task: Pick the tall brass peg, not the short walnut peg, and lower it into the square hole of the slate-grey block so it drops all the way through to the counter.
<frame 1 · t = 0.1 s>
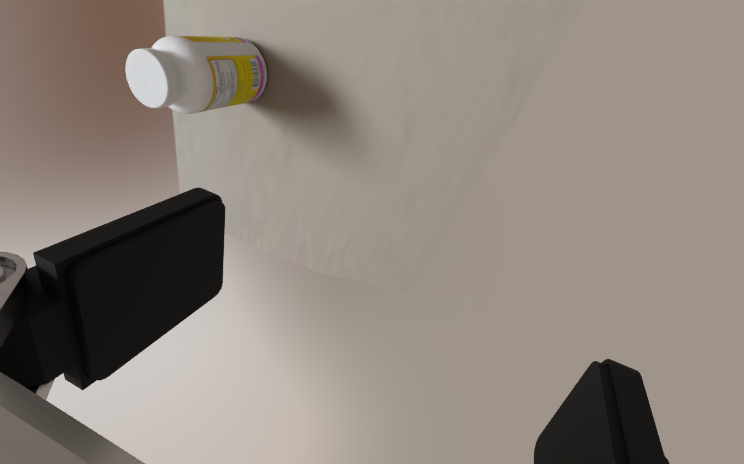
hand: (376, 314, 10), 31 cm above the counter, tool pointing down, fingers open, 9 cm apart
supplement bottle: (245, 70, 44), on the counter
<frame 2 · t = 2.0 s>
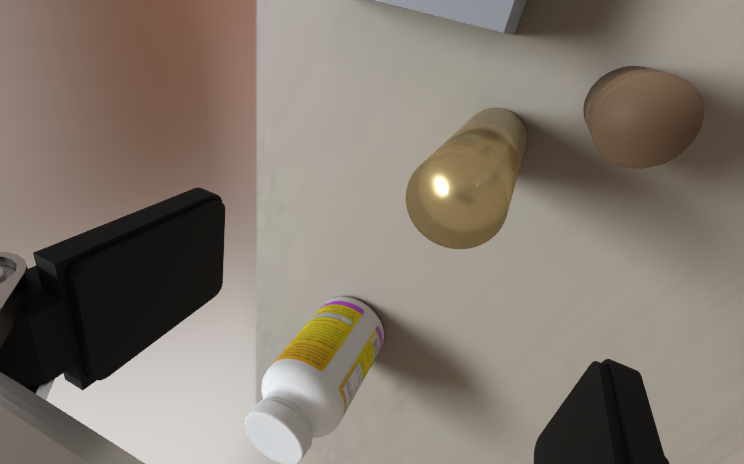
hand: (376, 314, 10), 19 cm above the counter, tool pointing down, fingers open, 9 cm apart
supplement bottle: (354, 323, 37), on the counter
short peg: (624, 104, 22), on the counter
tall peg: (493, 140, 25), on the counter
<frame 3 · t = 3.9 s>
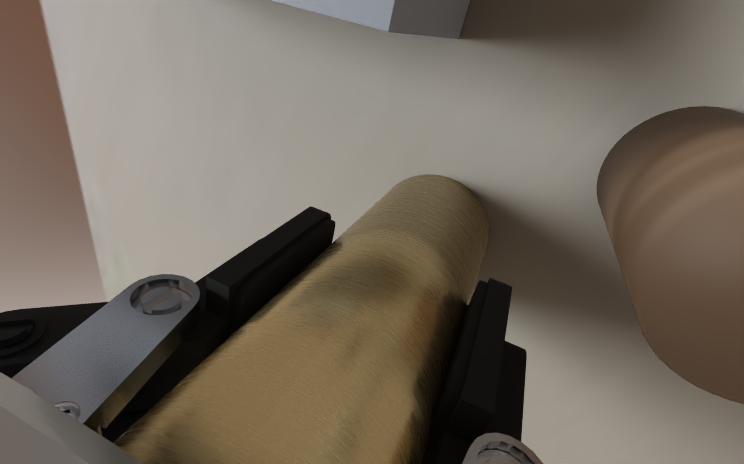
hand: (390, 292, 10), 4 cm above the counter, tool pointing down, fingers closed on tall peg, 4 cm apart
short peg: (681, 183, 11), on the counter
tall peg: (431, 229, 14), on the counter, touching gripper
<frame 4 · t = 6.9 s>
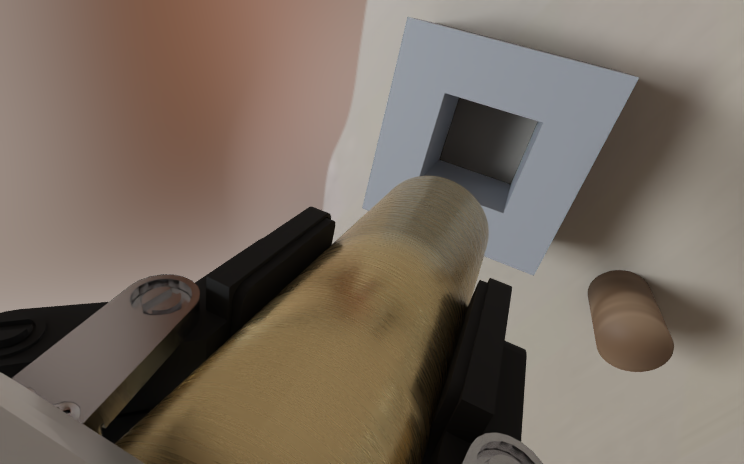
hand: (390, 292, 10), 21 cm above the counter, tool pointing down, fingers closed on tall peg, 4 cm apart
socket block: (487, 135, 28), on the counter
short peg: (618, 294, 29), on the counter
tall peg: (430, 230, 14), point 17 cm above the counter, touching gripper
when the fingers open (8 cm above the counter, at t = 10.1 s): tall peg drops 3 cm, resting in socket block.
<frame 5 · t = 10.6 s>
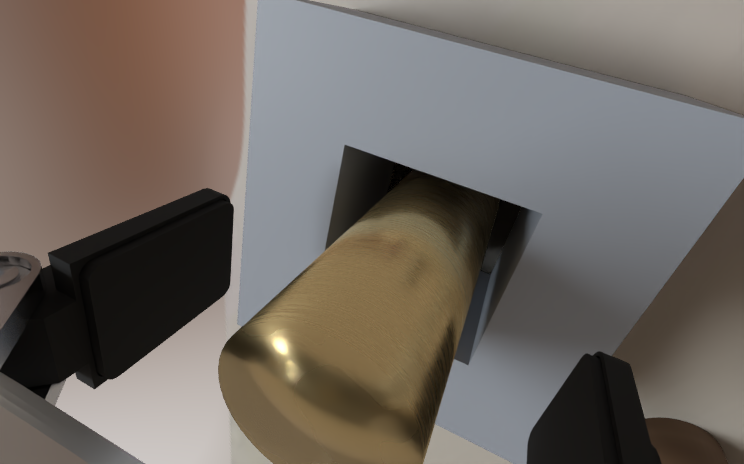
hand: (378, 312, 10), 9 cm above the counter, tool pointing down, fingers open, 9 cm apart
socket block: (450, 198, 17), on the counter
short peg: (667, 451, 18), on the counter
tall peg: (451, 198, 17), resting in socket block
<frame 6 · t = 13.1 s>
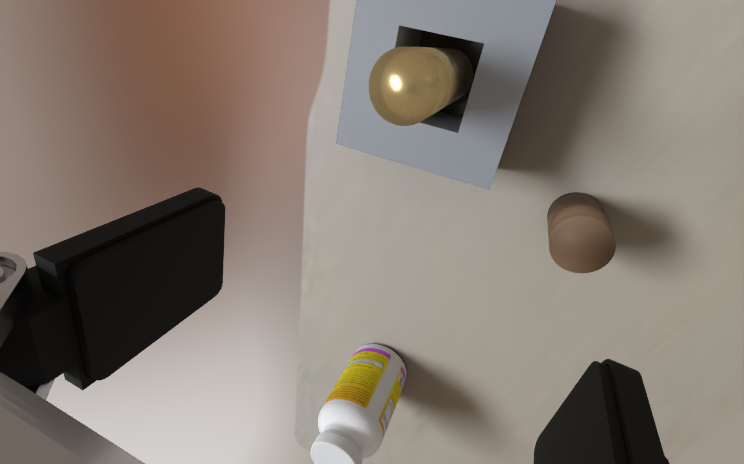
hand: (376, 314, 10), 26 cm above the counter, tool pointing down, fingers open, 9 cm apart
supplement bottle: (381, 363, 46), on the counter
socket block: (447, 75, 31), on the counter
short peg: (574, 216, 32), on the counter
tall peg: (447, 76, 31), resting in socket block
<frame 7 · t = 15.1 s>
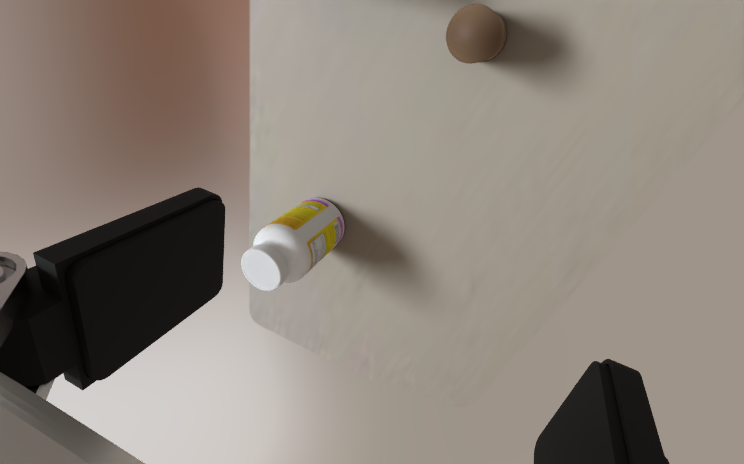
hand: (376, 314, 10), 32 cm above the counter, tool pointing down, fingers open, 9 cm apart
supplement bottle: (323, 221, 49), on the counter
short peg: (483, 36, 35), on the counter
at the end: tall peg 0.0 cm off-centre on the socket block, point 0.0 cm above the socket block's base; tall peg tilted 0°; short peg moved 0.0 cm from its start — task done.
